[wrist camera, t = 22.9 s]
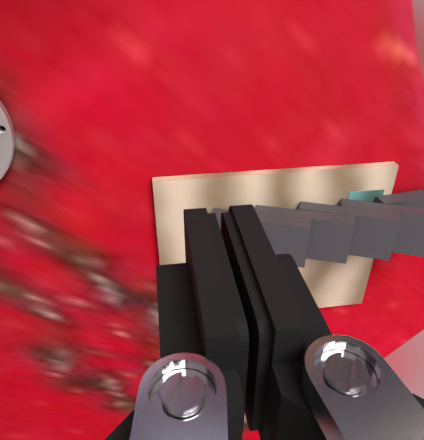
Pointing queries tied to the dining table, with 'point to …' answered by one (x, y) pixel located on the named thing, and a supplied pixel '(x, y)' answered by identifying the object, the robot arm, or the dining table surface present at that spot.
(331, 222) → the domino
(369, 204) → the domino
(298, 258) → the domino
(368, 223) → the domino
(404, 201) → the domino
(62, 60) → the dining table surface
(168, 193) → the board
